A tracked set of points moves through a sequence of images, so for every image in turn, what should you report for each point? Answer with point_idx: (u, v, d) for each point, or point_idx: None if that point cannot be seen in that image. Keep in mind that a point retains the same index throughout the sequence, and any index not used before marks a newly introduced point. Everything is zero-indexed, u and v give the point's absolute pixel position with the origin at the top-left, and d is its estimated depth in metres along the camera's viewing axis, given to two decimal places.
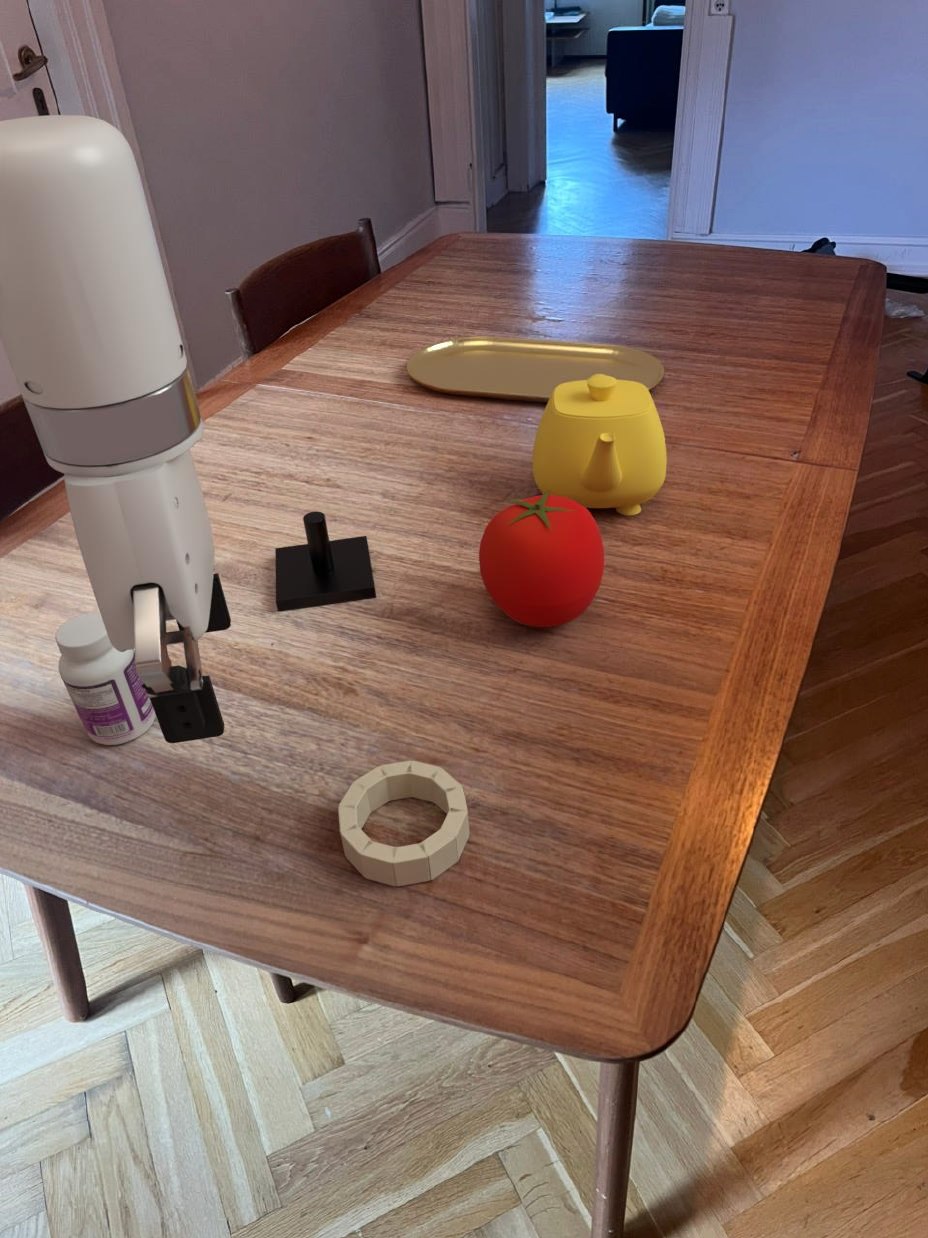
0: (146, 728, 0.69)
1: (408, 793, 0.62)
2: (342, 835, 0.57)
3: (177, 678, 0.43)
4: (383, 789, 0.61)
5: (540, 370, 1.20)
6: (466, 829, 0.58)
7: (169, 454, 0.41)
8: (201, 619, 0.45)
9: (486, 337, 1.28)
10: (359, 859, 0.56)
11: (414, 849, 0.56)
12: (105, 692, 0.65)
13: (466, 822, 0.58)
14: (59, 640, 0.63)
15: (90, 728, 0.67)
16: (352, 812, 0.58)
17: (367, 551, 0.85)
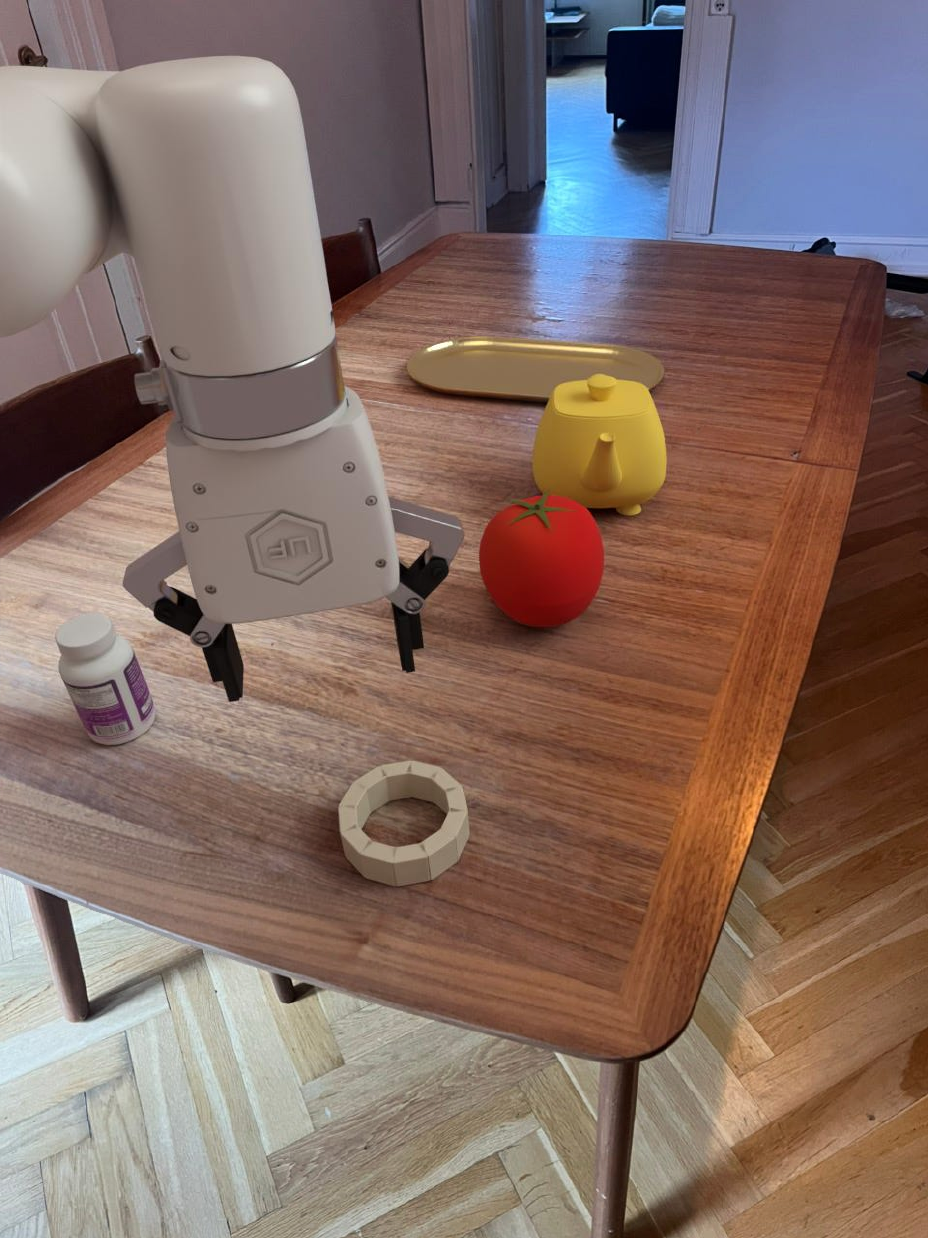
0: (146, 728, 0.69)
1: (408, 793, 0.62)
2: (342, 835, 0.57)
3: None
4: (383, 789, 0.61)
5: (540, 370, 1.20)
6: (466, 829, 0.58)
7: None
8: None
9: (486, 337, 1.28)
10: (359, 859, 0.56)
11: (414, 849, 0.56)
12: (105, 692, 0.65)
13: (466, 822, 0.58)
14: (59, 640, 0.63)
15: (90, 728, 0.67)
16: (352, 812, 0.58)
17: None
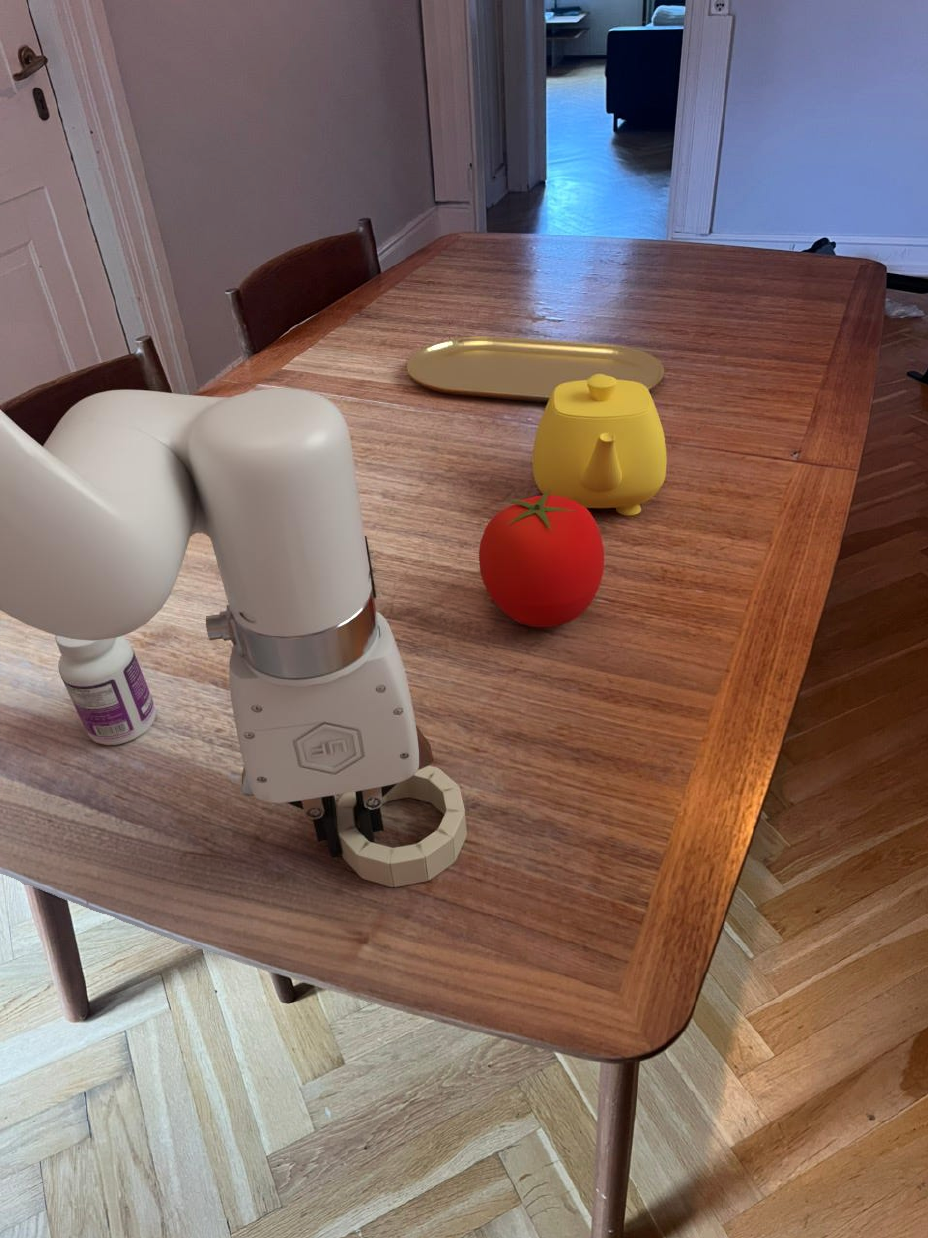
0: (146, 728, 0.69)
1: (405, 793, 0.62)
2: (339, 836, 0.57)
3: None
4: None
5: (540, 370, 1.20)
6: (463, 829, 0.58)
7: None
8: None
9: (486, 337, 1.28)
10: (356, 859, 0.56)
11: (411, 849, 0.56)
12: (105, 692, 0.65)
13: (463, 822, 0.58)
14: (59, 640, 0.63)
15: (90, 728, 0.67)
16: (349, 813, 0.58)
17: (367, 551, 0.85)
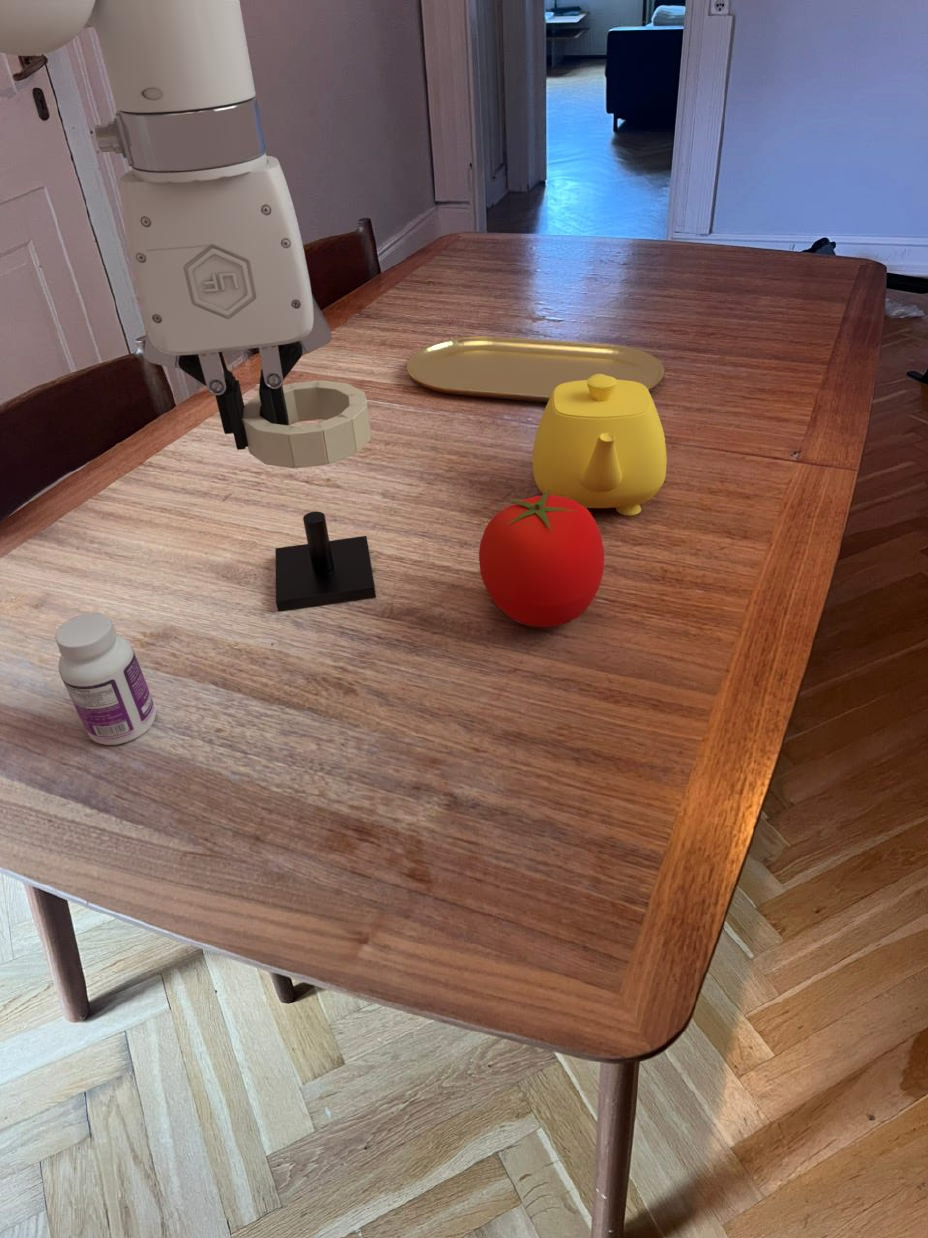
0: (146, 728, 0.69)
1: (317, 413, 0.64)
2: (243, 421, 0.59)
3: None
4: (291, 404, 0.63)
5: (540, 370, 1.20)
6: (366, 426, 0.60)
7: None
8: None
9: (486, 337, 1.28)
10: (258, 438, 0.58)
11: (310, 426, 0.57)
12: (105, 692, 0.65)
13: (366, 417, 0.60)
14: (59, 640, 0.63)
15: (90, 728, 0.67)
16: (256, 408, 0.60)
17: (367, 551, 0.85)
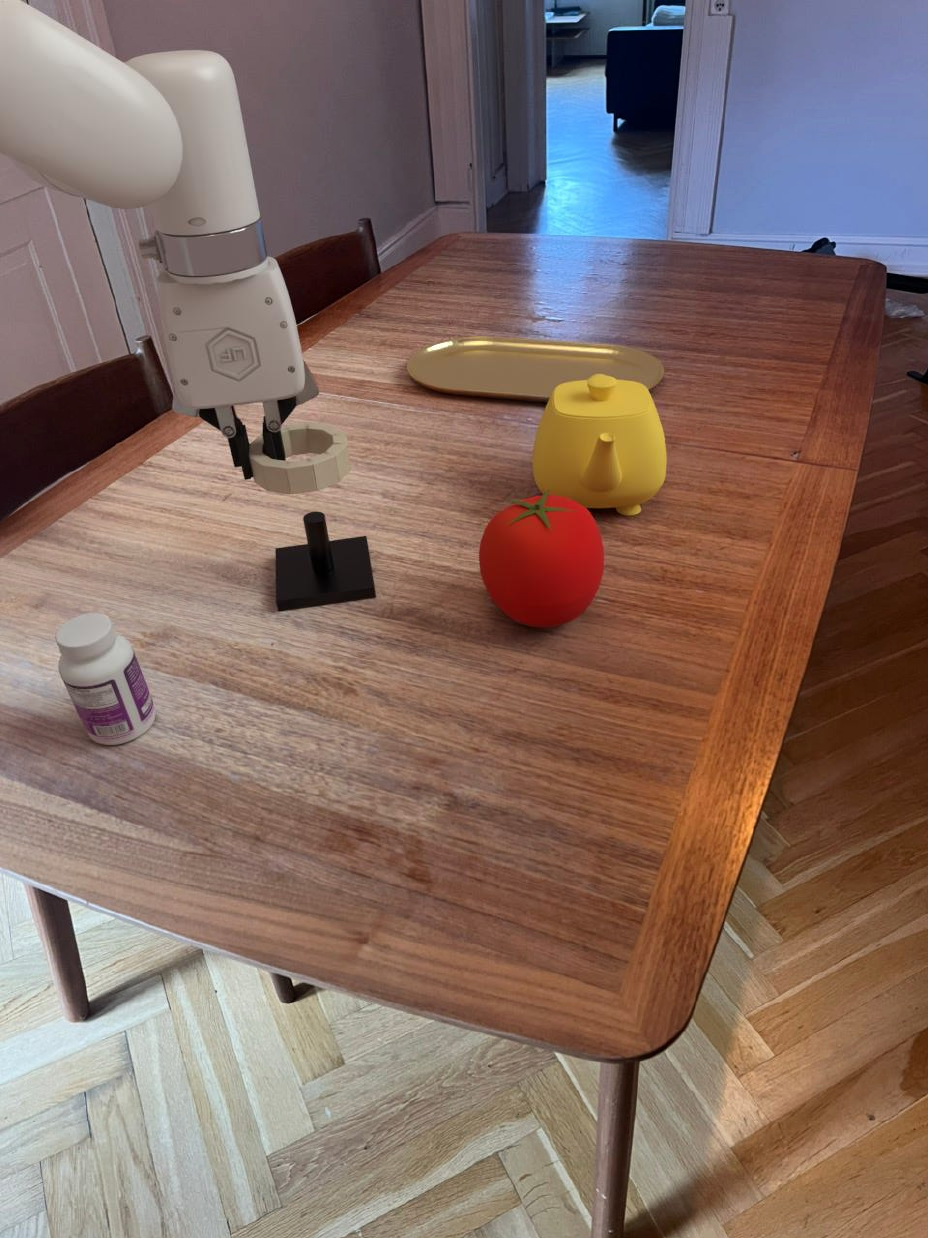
0: (146, 728, 0.69)
1: (307, 449, 0.80)
2: (250, 457, 0.74)
3: None
4: (286, 441, 0.79)
5: (540, 370, 1.20)
6: (347, 459, 0.76)
7: None
8: None
9: (486, 337, 1.28)
10: (262, 471, 0.74)
11: (303, 461, 0.73)
12: (105, 692, 0.65)
13: (346, 453, 0.76)
14: (59, 640, 0.63)
15: (90, 728, 0.67)
16: (259, 446, 0.76)
17: (367, 551, 0.85)
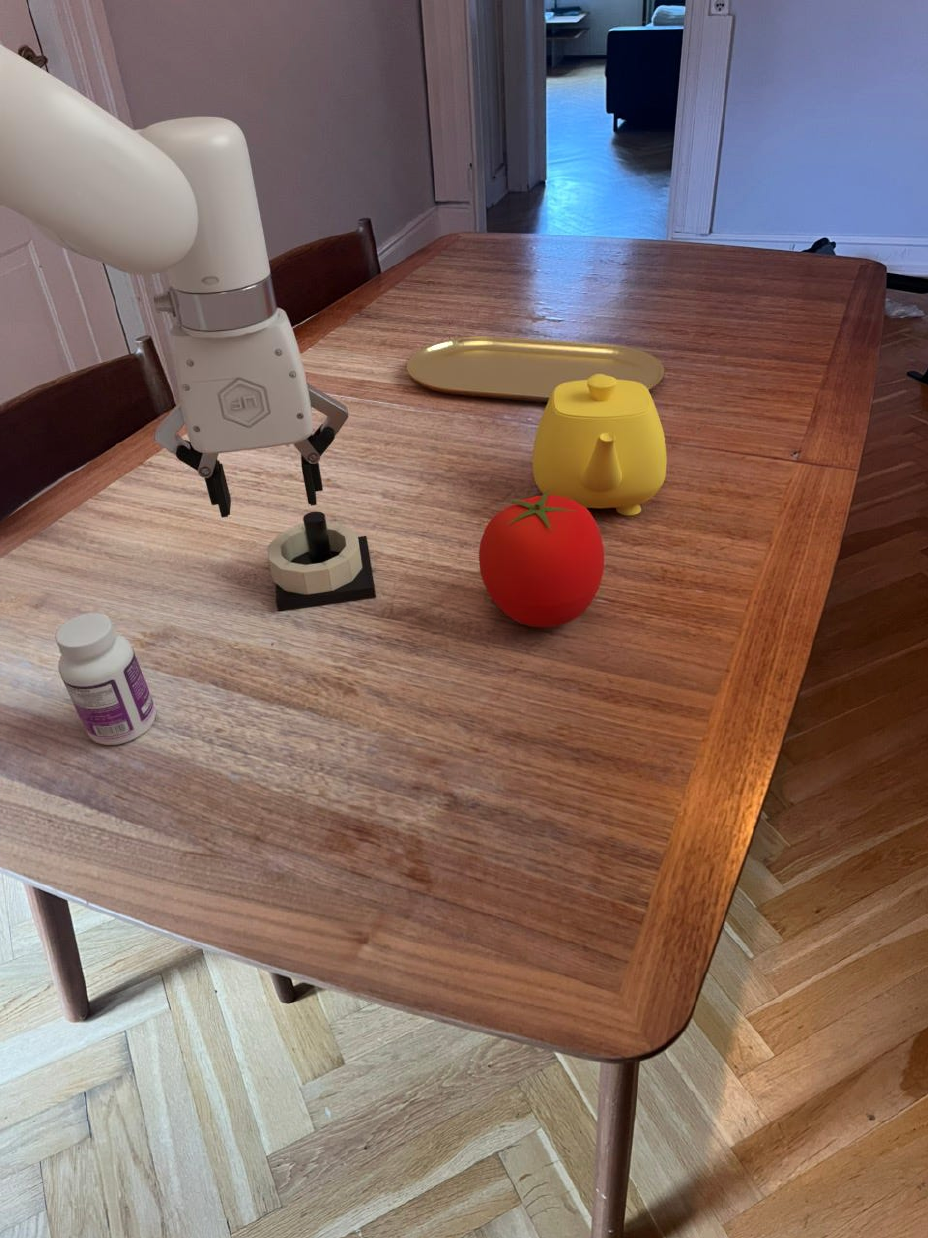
0: (146, 728, 0.69)
1: None
2: (269, 560, 0.81)
3: None
4: (302, 540, 0.85)
5: (540, 370, 1.20)
6: (358, 560, 0.82)
7: None
8: None
9: (486, 337, 1.28)
10: (280, 574, 0.80)
11: (318, 565, 0.79)
12: (105, 692, 0.65)
13: (358, 554, 0.82)
14: (59, 640, 0.63)
15: (90, 728, 0.67)
16: (277, 548, 0.82)
17: (367, 551, 0.85)
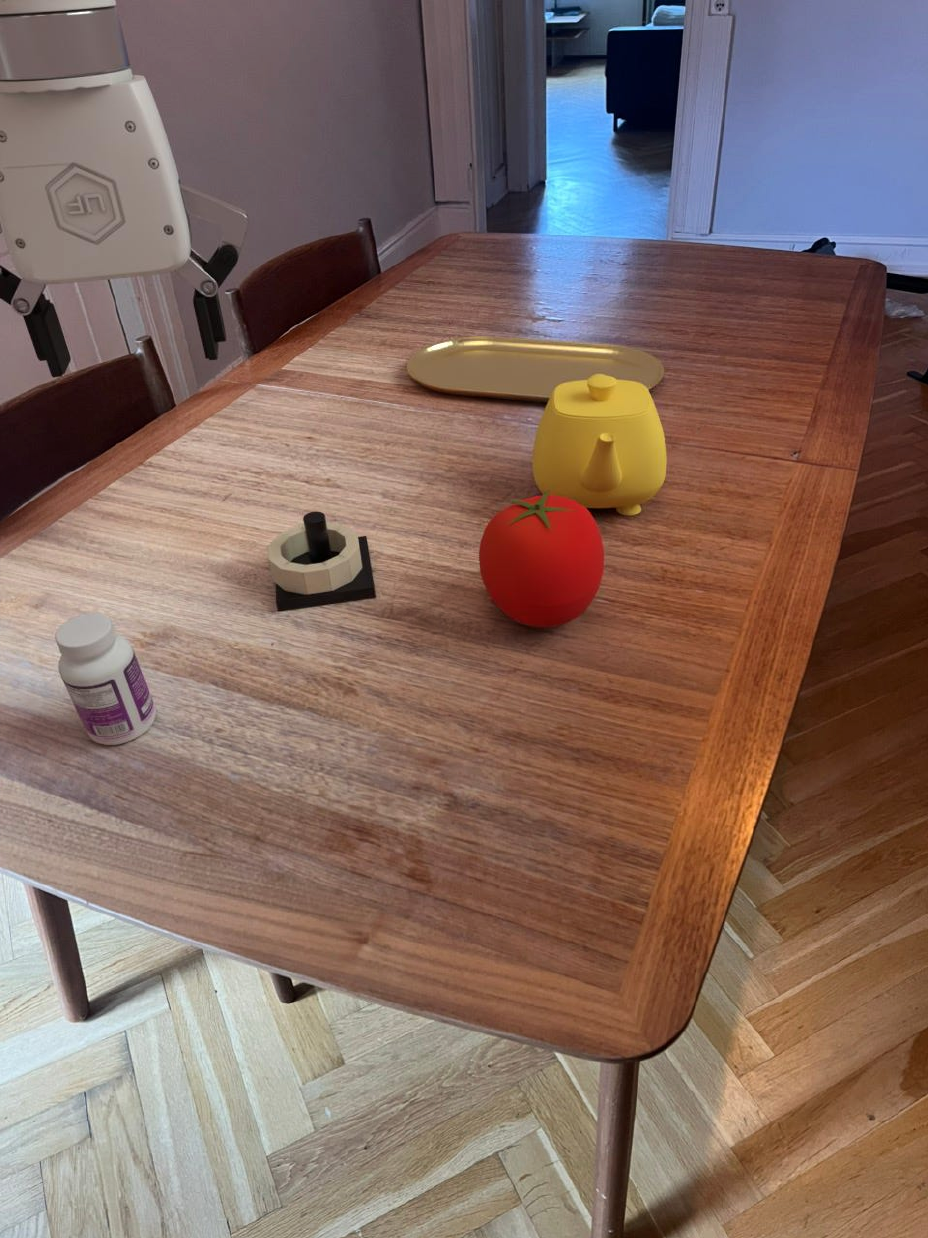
0: (146, 728, 0.69)
1: None
2: (269, 560, 0.81)
3: None
4: (302, 540, 0.85)
5: (540, 370, 1.20)
6: (358, 560, 0.82)
7: None
8: None
9: (486, 337, 1.28)
10: (280, 574, 0.80)
11: (318, 565, 0.79)
12: (105, 692, 0.65)
13: (358, 554, 0.82)
14: (59, 640, 0.63)
15: (90, 728, 0.67)
16: (277, 548, 0.82)
17: (367, 551, 0.85)
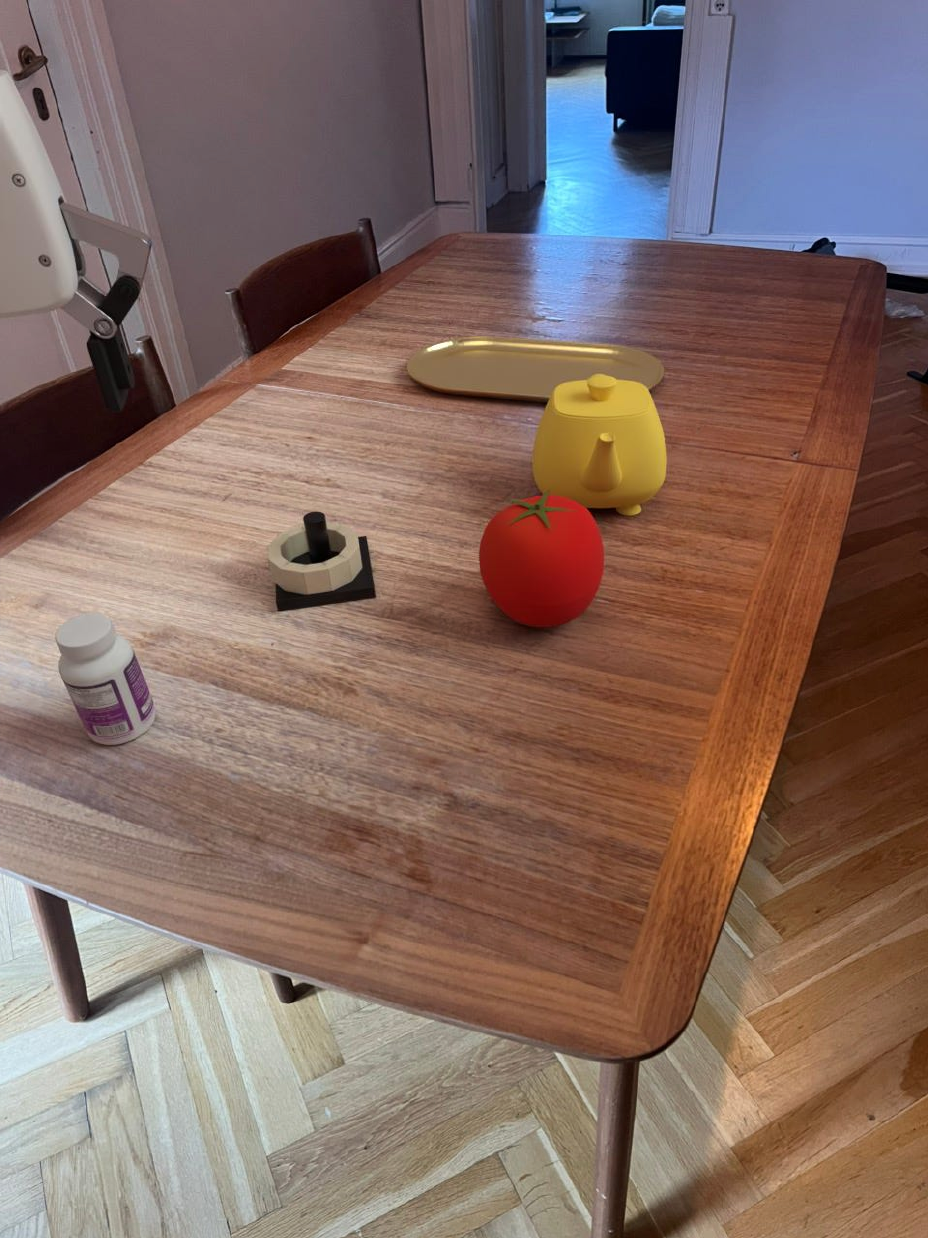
0: (146, 728, 0.69)
1: None
2: (269, 560, 0.81)
3: None
4: (302, 540, 0.85)
5: (540, 370, 1.20)
6: (358, 560, 0.82)
7: None
8: None
9: (486, 337, 1.28)
10: (280, 574, 0.80)
11: (318, 565, 0.79)
12: (105, 692, 0.65)
13: (358, 554, 0.82)
14: (59, 640, 0.63)
15: (90, 728, 0.67)
16: (277, 548, 0.82)
17: (367, 551, 0.85)
